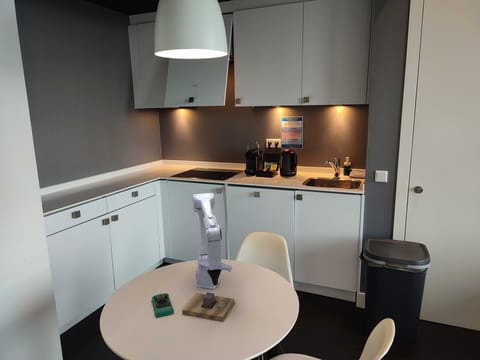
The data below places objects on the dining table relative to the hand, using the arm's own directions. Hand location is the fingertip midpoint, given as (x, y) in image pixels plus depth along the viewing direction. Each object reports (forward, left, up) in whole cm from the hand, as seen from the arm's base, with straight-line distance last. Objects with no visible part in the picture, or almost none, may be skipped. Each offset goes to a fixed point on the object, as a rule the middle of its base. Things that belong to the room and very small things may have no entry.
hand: (215, 284), depth 154 cm
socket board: (-1, -5, -9) cm, 10 cm away
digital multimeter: (-21, -9, -9) cm, 25 cm away
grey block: (-1, -5, -9) cm, 10 cm away
